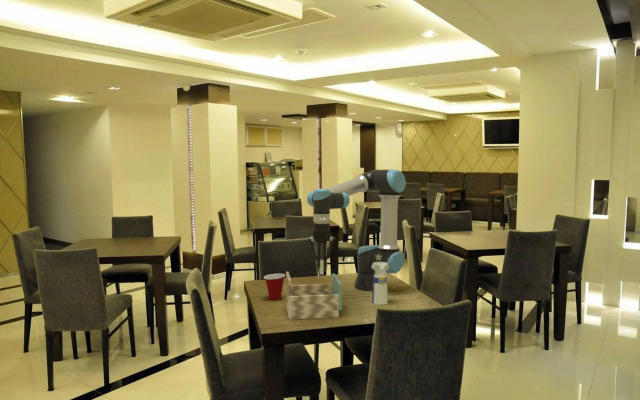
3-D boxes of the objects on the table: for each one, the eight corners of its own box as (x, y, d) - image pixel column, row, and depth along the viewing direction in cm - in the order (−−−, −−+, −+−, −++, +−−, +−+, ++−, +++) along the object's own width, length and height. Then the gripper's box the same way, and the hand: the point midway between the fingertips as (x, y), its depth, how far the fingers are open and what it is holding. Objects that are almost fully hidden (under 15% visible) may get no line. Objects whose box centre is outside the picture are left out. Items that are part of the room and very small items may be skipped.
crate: (331, 304, 227) (331, 269, 226) (338, 317, 208) (338, 279, 206) (286, 306, 224) (285, 271, 223) (289, 319, 205) (288, 281, 204)
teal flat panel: (336, 298, 227) (336, 273, 226) (343, 309, 208) (343, 283, 207) (332, 298, 227) (332, 273, 226) (339, 310, 208) (339, 283, 207)
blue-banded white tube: (391, 304, 226) (391, 253, 224) (374, 305, 225) (374, 253, 223) (386, 299, 234) (386, 250, 233) (369, 300, 233) (369, 250, 231)
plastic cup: (265, 295, 243) (265, 272, 242) (286, 295, 243) (286, 272, 242) (262, 301, 232) (262, 277, 232) (284, 301, 232) (283, 277, 231)
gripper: (308, 223, 209) (308, 276, 211) (337, 223, 211) (336, 275, 212) (306, 222, 217) (306, 272, 218) (334, 221, 218) (334, 271, 220)
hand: (321, 273), depth 215 cm, fingers closed
